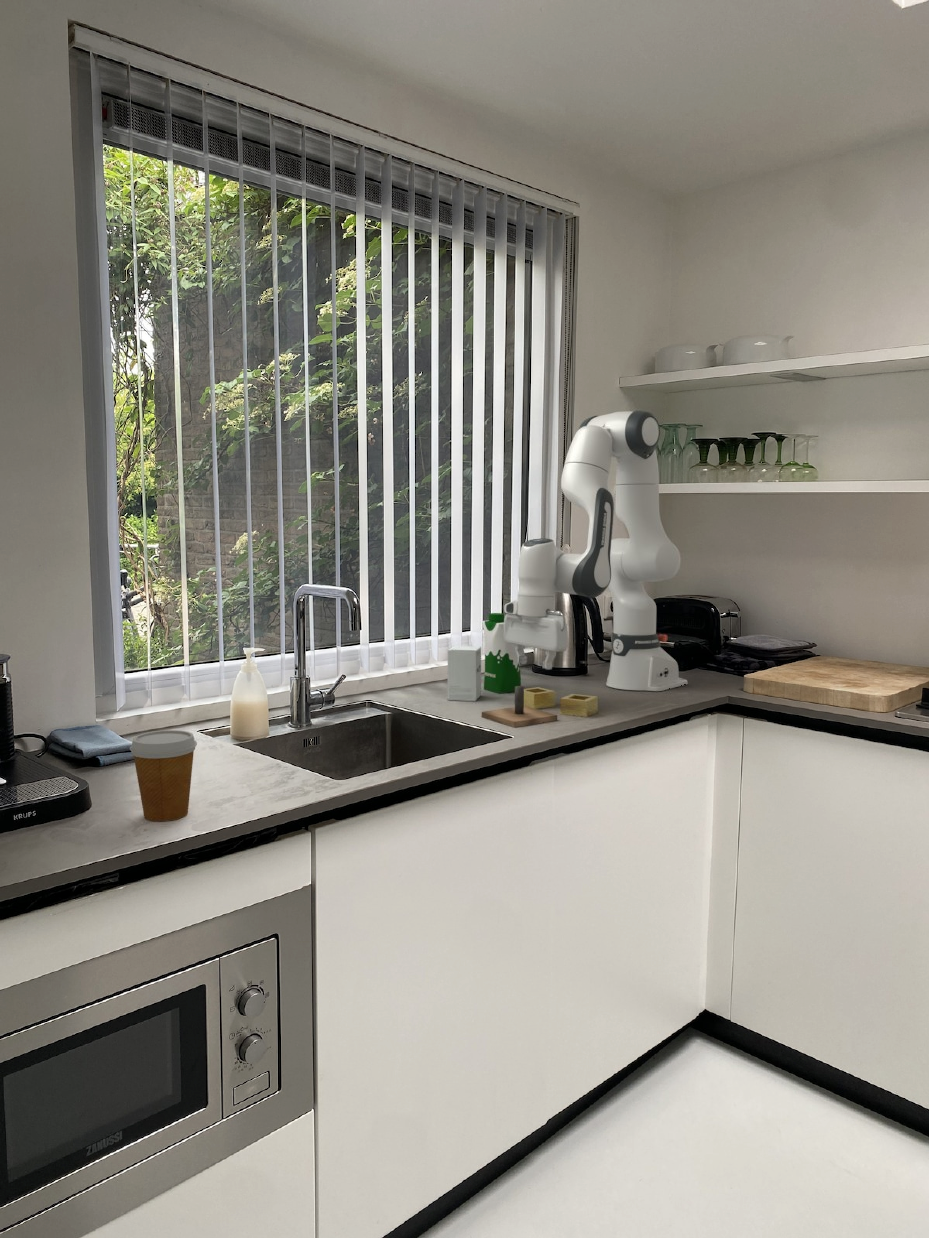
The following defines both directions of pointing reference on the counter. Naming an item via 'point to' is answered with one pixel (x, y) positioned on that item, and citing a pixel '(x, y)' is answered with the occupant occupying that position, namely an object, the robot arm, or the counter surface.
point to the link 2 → (579, 705)
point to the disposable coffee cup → (164, 772)
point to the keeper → (519, 713)
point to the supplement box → (464, 673)
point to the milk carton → (499, 657)
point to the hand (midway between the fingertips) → (534, 666)
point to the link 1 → (539, 698)
